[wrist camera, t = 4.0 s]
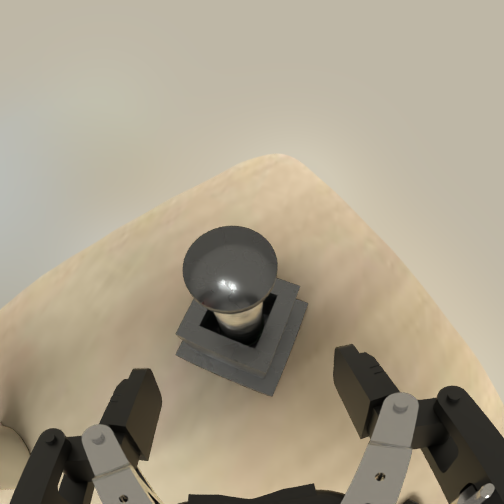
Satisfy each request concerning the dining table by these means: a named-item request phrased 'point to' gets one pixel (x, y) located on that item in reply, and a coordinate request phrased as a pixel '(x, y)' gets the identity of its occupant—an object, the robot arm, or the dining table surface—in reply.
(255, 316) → the column
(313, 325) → the dining table surface
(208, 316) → the stand
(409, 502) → the disk drive
